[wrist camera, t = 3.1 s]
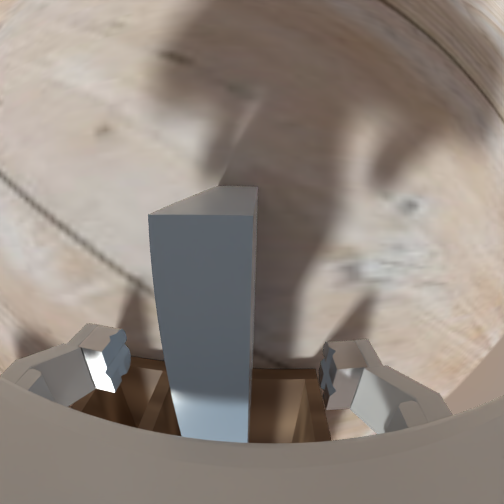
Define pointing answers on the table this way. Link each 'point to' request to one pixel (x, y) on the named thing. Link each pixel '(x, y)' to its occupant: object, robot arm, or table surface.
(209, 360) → the upright grey-blue slab
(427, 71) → the table surface
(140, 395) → the walnut rack
